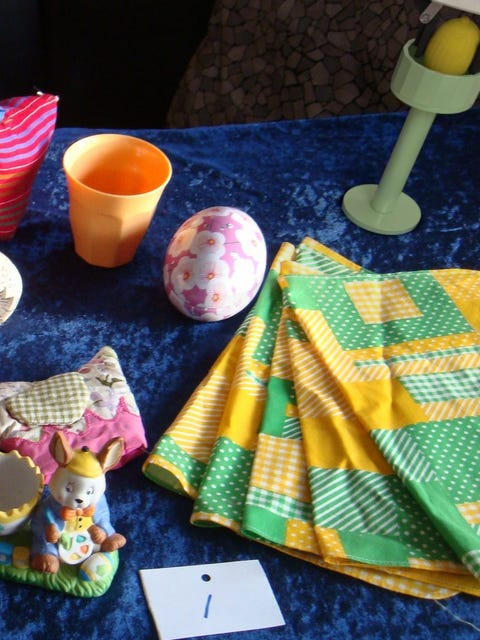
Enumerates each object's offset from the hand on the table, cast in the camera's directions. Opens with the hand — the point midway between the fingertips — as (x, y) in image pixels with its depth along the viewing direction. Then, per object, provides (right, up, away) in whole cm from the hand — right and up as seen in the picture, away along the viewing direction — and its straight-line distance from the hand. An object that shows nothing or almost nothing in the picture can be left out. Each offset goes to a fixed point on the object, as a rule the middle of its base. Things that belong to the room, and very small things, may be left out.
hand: (447, 60), depth 97 cm
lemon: (0, -2, +2) cm, 3 cm away
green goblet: (0, -15, +17) cm, 22 cm away
